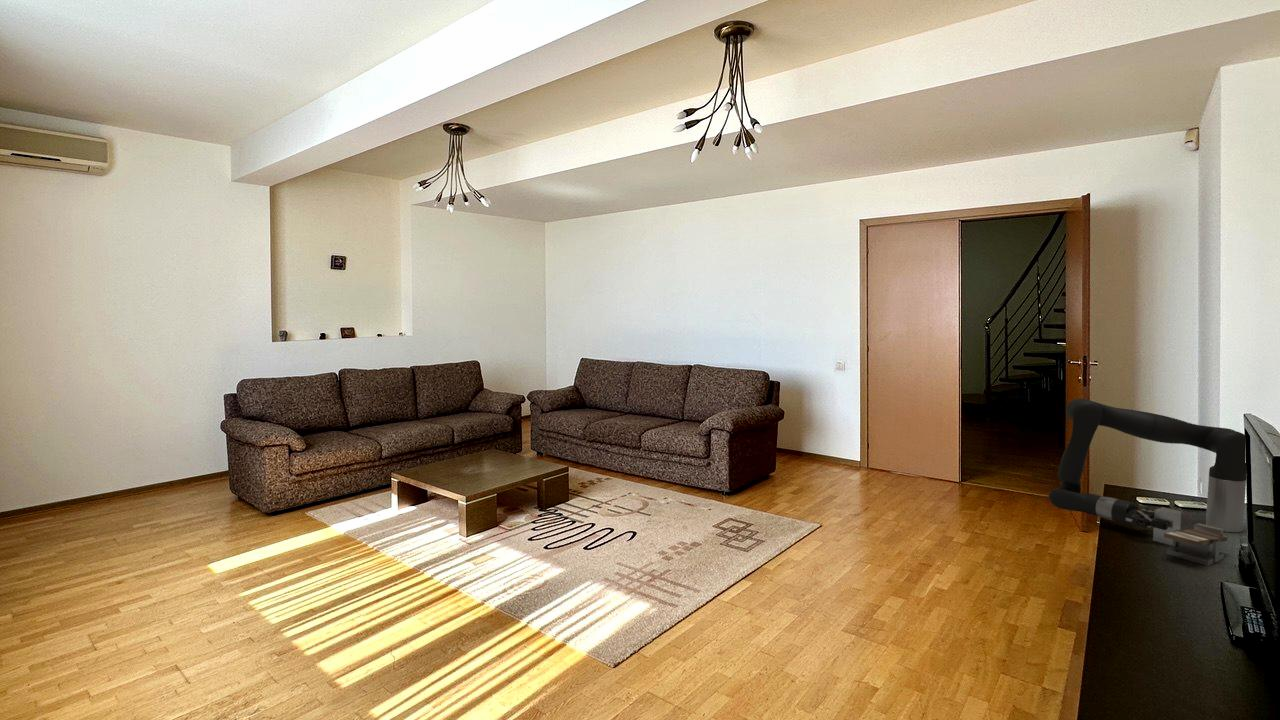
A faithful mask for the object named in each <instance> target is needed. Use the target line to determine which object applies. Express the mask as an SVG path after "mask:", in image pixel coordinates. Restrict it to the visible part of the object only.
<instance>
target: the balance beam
mask: <svg viewBox="0 0 1280 720" xmlns="http://www.w3.org/2000/svg"><path fill="white" fill-rule="evenodd" d="M1223 530H1224V529H1220V528H1216V527H1212V526H1208V525H1206V524H1204V523H1203V524H1202V523H1200V522H1198V523H1194V526H1193V528H1191V529H1184V530H1180V531H1176V532H1169V533H1164V537H1165V538H1169V539H1172V540H1176V541H1180V542H1184V543H1188V544H1191V545H1195V546H1200V545H1206V544H1212V545H1213V541H1215V540H1220V543H1223V542H1227V541H1228V536H1226V535H1224V531H1223Z"/></svg>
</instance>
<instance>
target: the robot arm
mask: <svg viewBox="0 0 1280 720" xmlns="http://www.w3.org/2000/svg"><path fill="white" fill-rule="evenodd" d="M1065 412H1066V413H1065V414H1066V415H1067V417H1068V418H1069V420H1070V421H1071V422H1072V427H1071V428H1072V430H1071V435H1070V439H1069V442H1068V443H1067V446H1066V448H1065V450H1064V451H1063V454H1062V456H1061V460H1060V463H1059V467H1058V472H1057V477H1058V479H1059V480H1060V481H1061V482H1060V483H1061V485H1060V487H1056V488H1054V489H1051V490H1050V491H1049V493H1048V500H1049V502H1050V503H1051V505H1053V506H1054V507H1056V508H1058V509H1062V510H1067V511H1071V512H1072V511H1073V512H1081V513H1085V514H1087V515H1093V516H1095V517H1099V518H1102V519H1105V520H1109V521H1113V522H1116V523H1119V524H1124V525H1127V526H1130V525H1133V526H1137V527H1141V528H1145V529H1146V528H1153V529H1154V528H1158V529H1162V530H1167V529H1168V524H1167V523H1165V522H1160V521H1156V520H1154V514H1155V510H1156V509H1153V508H1150V507H1149V508H1148V507H1146V508H1145V509H1144V508H1141V509H1138V508H1137V506H1136V504H1135V503H1134V502H1131V501H1128V500H1122V499H1119V498H1115V497H1110V496H1102V495H1099V494H1094V493H1090V492H1089V493H1087V492H1086V493H1085V492H1084V493H1082V476H1083V472H1084V467H1085V463H1086V459H1087V455H1088V452H1089V449H1090V445H1091V444H1092V440H1093V437H1094V436H1095V434H1096V431H1097V430H1098V427H1099V426H1102V427H1107V428H1110V429H1114V430H1117V431H1119V432H1120V433H1124V434H1127V435H1130V436H1133V437H1135V438H1139V439H1142V440H1148V441H1152V442H1155V443H1161V444H1162V443H1163V444H1175V445H1176V444H1177V445H1179V444H1180V445H1187V446H1188V445H1189V446H1192V447H1197V448H1200V449H1203V450H1206V451H1210V452H1212V453H1214V454H1215V462H1214V465H1213V466H1211V467H1209V470H1208V485H1207V486H1208V487H1207V499H1206V500H1207V501H1206V511H1205V512H1206V513H1205V525H1208V526H1212V527H1216V528H1220V529H1224V530H1223V532H1226V533H1241V532H1243V531H1242V530H1243V529H1244V520H1245V519H1244V518H1245V506H1246V505H1245V503H1246V491H1247V490H1246V488H1247V478H1246V463H1245V435H1246V434H1244V433H1243V432H1240V431H1237V430H1234V429H1231V428H1226V427H1218V426H1217V427H1216V426H1210V425H1209V426H1207V425H1202V424H1195V423H1192V422H1188V421H1184V420H1181V419H1178V418H1175V417H1171V416H1168V415H1163V414H1157V413H1153V412H1148V411H1142V410H1141V411H1140V410H1135V409H1134V410H1133V409H1128V408H1120V407H1114V406H1110V405H1107V404H1102V403H1099V402H1097V401H1094V400H1090V399H1087V398H1077V399H1073V400H1071V401H1070V402H1069V403H1067V405H1066V408H1065Z"/></svg>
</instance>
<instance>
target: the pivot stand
mask: <svg viewBox="0 0 1280 720" xmlns="http://www.w3.org/2000/svg"><path fill="white" fill-rule="evenodd" d="M1176 531H1181V529H1180V530H1175V531H1173V532H1176ZM1220 547H1221V542H1220V540H1215V541H1213V543H1212V544H1206V545H1200V546H1195V545H1191V544H1188V543H1184V542H1180V541H1176V540H1173V541H1172V545H1171V547H1168V548H1166V555H1168V556H1172V557H1175V558H1179V559H1183V560H1185V561H1190V562H1193V563H1196V564H1200V565H1203V566H1206V567H1208V566H1211V565H1213V564H1217V563H1219V561H1222V560H1224V556H1225V553H1223V552H1220Z"/></svg>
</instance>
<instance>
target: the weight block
mask: <svg viewBox="0 0 1280 720" xmlns="http://www.w3.org/2000/svg"><path fill="white" fill-rule="evenodd" d="M1154 510H1155V514H1154V518H1153V519H1154V520H1156V521H1160V522H1165V523H1167V524H1168V529H1167V530H1162V529H1158V528H1154V527H1153V531H1152V532H1153V533H1152V534H1153V535H1152V540H1153V541H1154V542H1158V543H1161V544H1165V545H1170V546H1172V541H1173V540H1172V539H1169V538H1165V537H1164V533H1169V532H1173V531H1175V530H1180V531H1181V523H1182V511H1181V510H1176V509H1173V508H1172V509H1171V508H1168V507H1163V506H1161V507H1158V508H1157V509H1154Z"/></svg>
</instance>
